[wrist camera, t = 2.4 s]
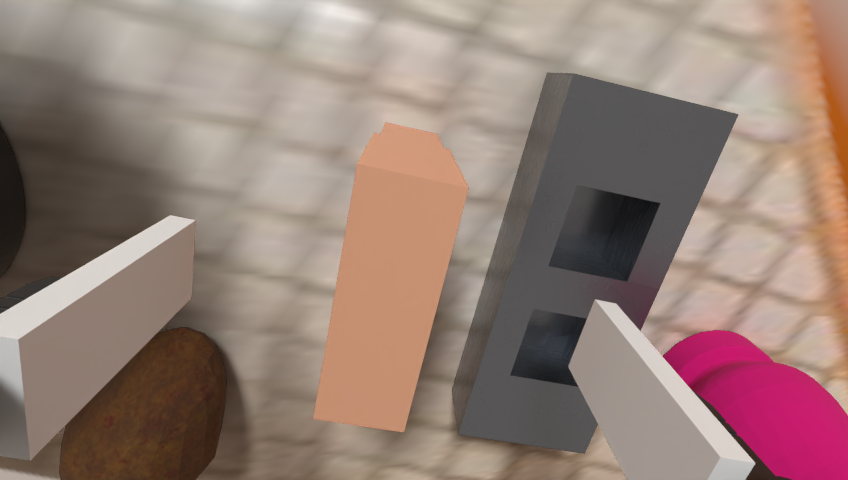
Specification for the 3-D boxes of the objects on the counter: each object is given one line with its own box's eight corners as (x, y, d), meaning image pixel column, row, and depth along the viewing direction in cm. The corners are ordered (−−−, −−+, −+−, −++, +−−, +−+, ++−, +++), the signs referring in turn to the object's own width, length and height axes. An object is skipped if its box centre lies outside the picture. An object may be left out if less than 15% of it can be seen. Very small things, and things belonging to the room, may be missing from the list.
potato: (271, 341, 25) (224, 437, 19) (209, 467, 28) (149, 587, 22) (146, 289, 24) (47, 373, 17) (95, 427, 27) (-6, 543, 20)
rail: (452, 389, 27) (458, 434, 23) (547, 72, 20) (573, 73, 17) (563, 407, 27) (584, 453, 24) (687, 107, 21) (738, 114, 18)
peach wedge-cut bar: (350, 281, 24) (313, 418, 15) (380, 121, 21) (357, 163, 12) (405, 292, 24) (403, 432, 15) (442, 135, 21) (469, 187, 12)
